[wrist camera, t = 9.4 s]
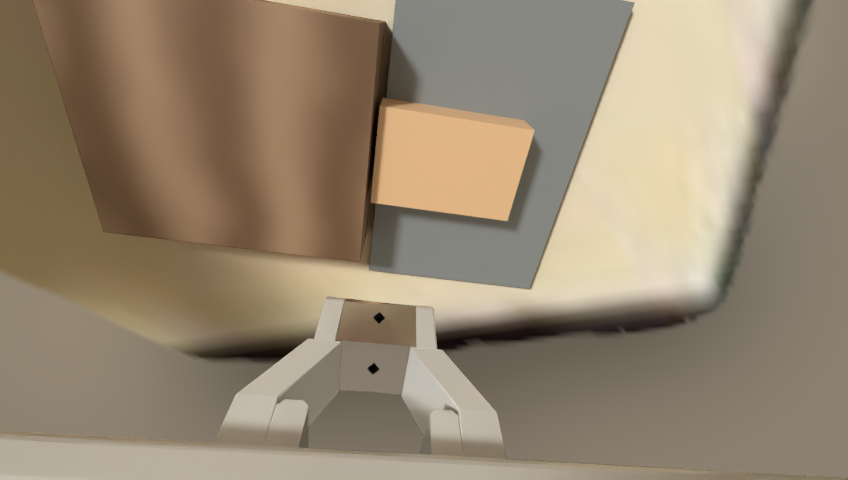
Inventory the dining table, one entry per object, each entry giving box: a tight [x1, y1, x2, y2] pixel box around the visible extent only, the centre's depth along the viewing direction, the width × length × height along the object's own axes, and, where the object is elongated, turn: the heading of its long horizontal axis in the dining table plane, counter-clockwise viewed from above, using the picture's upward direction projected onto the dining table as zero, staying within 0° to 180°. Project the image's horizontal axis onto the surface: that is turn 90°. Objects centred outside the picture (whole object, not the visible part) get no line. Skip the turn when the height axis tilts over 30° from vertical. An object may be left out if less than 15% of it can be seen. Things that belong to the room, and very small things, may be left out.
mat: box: [369, 0, 634, 289], centre depth 26 cm, size 13×20×1 cm, turn 171°
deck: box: [33, 0, 385, 262], centre depth 23 cm, size 16×14×4 cm
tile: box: [370, 98, 535, 221], centre depth 24 cm, size 9×6×2 cm, turn 81°
